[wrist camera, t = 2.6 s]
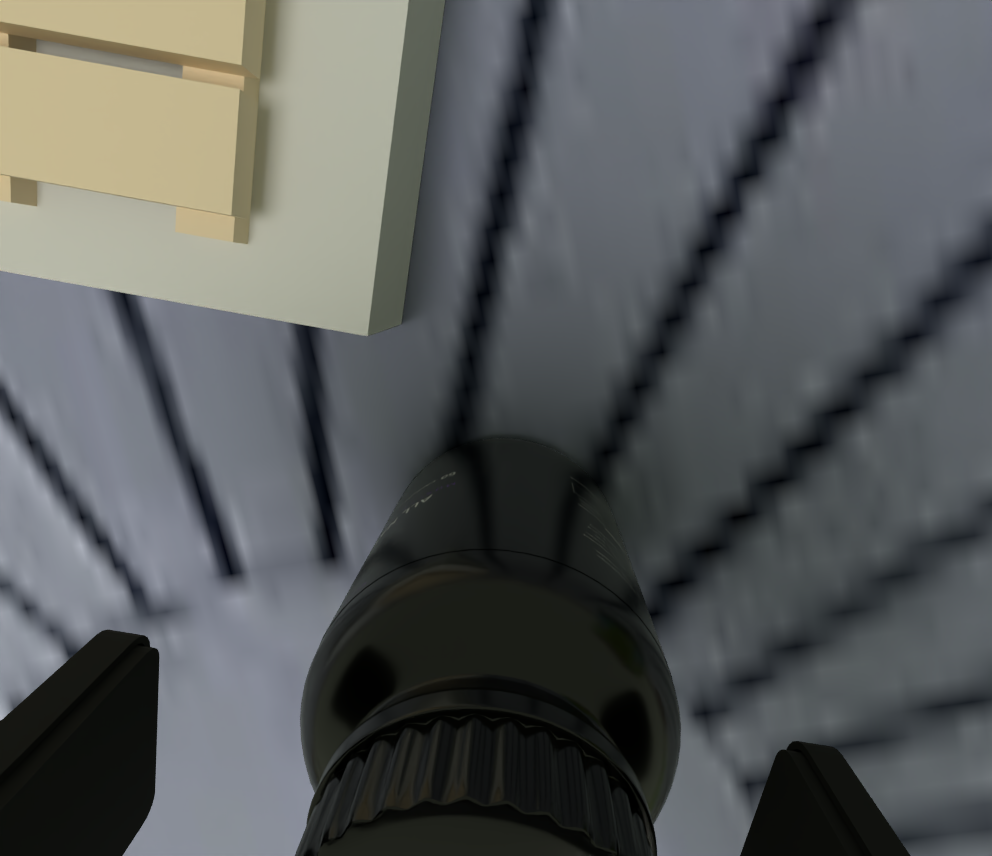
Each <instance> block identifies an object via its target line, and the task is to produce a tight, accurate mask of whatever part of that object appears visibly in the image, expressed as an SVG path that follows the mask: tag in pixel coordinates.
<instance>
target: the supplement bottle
mask: <svg viewBox="0 0 992 856" xmlns="http://www.w3.org/2000/svg"><path fill="white" fill-rule="evenodd" d="M300 727H301V742H302V749H303V755H304V761H305V765H306V768H307V772H308V775H309V779H310V782H311V785H312V787H313V790H314V792H315V794H314V797H313V799H312V802H311V805H310V809H309V813H308V818H307V826H306V829H305V831H304V834H303V836H302V839H301V841H300V844H299V846H298V849H297V851H296V854H295V856H657V845H656V837H655V831H654V826H653V824H654V823H655V821H656V819H657V818H658V816H659V814H660V812H661V810H662V808H663V806H664V804H665V802H666V799H667V797H668V794H669V792H670V789H671V786H672V783H673V780H674V776H675V772H676V769H677V764H678V759H679V752H680V738H681V722H680V712H679V705H678V701H677V696H676V692H675V688H674V684H673V680H672V676H671V673H670V670H669V667H668V664H667V661H666V659H665V656H664V653H663V650H662V647H661V644H660V642H659V639H658V636H657V633H656V631H655V628H654V625H653V622H652V620H651V617H650V614H649V611H648V609H647V606H646V603H645V600H644V598H643V595H642V592H641V589H640V587H639V584H638V581H637V578H636V576H635V573H634V570H633V567H632V565H631V562H630V559H629V556H628V554H627V551H626V548H625V545H624V543H623V540H622V537H621V534H620V532H619V529H618V526H617V523H616V521H615V519H614V516H613V514H612V511H611V509H610V507H609V505H608V502H607V500H606V499H605V497H604V495H603V494H602V492H601V490H600V489H599V487H598V486H597V485H596V483H595V482H594V481H593V479H592V478H591V477H590V476H589V475H588V474H587V473H586V472H585V471H584V470H583V469H582V468H581V467H580V466H579V465H578V464H576V463H575V462H574V461H572V460H571V459H569V458H568V457H566V456H565V455H563V454H561V453H559V452H558V451H556V450H553V449H551V448H549V447H547V446H544V445H541V444H538V443H535V442H530V441H526V440H520V439H511V438H493V439H485V440H479V441H474V442H470V443H467V444H464V445H461V446H458V447H456V448H454V449H452V450H450V451H448V452H446V453H444V454H442V455H441V456H439V457H438V458H436V459H435V460H434V461H432V462H431V463H430V464H428V465H427V466H426V467H425V468H424V469H423V470H422V471H421V472H420V473H419V474H418V475H417V476H416V477H415V478H414V480H413V481H412V482H411V484H410V485H409V486H408V488H407V489H406V491H405V492H404V494H403V496H402V497H401V499H400V500H399V502H398V504H397V505H396V507H395V509H394V511H393V512H392V514H391V516H390V518H389V520H388V521H387V523H386V525H385V527H384V529H383V530H382V532H381V534H380V536H379V538H378V539H377V541H376V543H375V545H374V547H373V548H372V550H371V552H370V554H369V556H368V557H367V559H366V561H365V563H364V565H363V566H362V568H361V570H360V572H359V574H358V575H357V577H356V579H355V581H354V582H353V584H352V586H351V588H350V590H349V591H348V593H347V595H346V597H345V599H344V600H343V602H342V604H341V606H340V608H339V609H338V611H337V613H336V615H335V617H334V618H333V620H332V622H331V624H330V626H329V627H328V629H327V631H326V633H325V635H324V637H323V639H322V641H321V643H320V645H319V648H318V650H317V652H316V654H315V657H314V659H313V661H312V663H311V666H310V668H309V672H308V675H307V678H306V681H305V685H304V691H303V696H302V702H301V714H300Z"/></svg>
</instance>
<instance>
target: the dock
mask: <svg viewBox="0 0 992 856" xmlns="http://www.w3.org/2000/svg"><path fill="white" fill-rule="evenodd" d="M444 6H445V0H0V271H5V272H11V273H16V274H22V275H27V276H33V277H39V278H44V279H50V280H55V281H61V282H67V283H72V284H78V285H83V286H89V287H95V288H100V289H106V290H111V291H117V292H123V293H128V294H134V295H139V296H145V297H150V298H156V299H162V300H167V301H173V302H178V303H184V304H190V305H195V306H201V307H206V308H212V309H218V310H223V311H229V312H234V313H240V314H246V315H251V316H257V317H262V318H268V319H274V320H279V321H285V322H290V323H296V324H302V325H307V326H313V327H318V328H324V329H330V330H335V331H341V332H346V333H352V334H358V335H363V336H370V335H372V334H375V333H378V332H381V331H384V330H387V329H389V328H392V327H395V326H398V325H401V323H402V316H403V308H404V301H405V294H406V286H407V279H408V271H409V264H410V257H411V249H412V242H413V234H414V227H415V220H416V212H417V205H418V198H419V190H420V183H421V175H422V168H423V161H424V153H425V146H426V139H427V131H428V124H429V116H430V109H431V102H432V94H433V87H434V80H435V72H436V65H437V57H438V50H439V43H440V35H441V28H442V21H443V13H444Z"/></svg>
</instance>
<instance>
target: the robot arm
mask: <svg viewBox="0 0 992 856" xmlns="http://www.w3.org/2000/svg"><path fill="white" fill-rule="evenodd" d="M158 682H159V652H158V650H157V649H156V648H151V647H150V642H149V639H148V637H146V636H144V635H138V634H132V633H125V632H119V631H113V630H104V631H101V632H100V633H99V634H97V635H96V636H95V637H94V638H93V639H91V640H90V641H89V642H88V643H87V644H86V645H85V646H84V647H83V648H81V649H80V650H79V651H78V652H77V653H76V654H75V655H74V656H73V657H71V658H70V659H69V660H68V661H67V662H66V663H65V664H64V665H63V666H61V667H60V668H59V669H58V670H57V671H56V672H55V673H54V674H53V675H51V676H50V677H49V678H48V679H47V680H46V681H45V682H44V683H43V684H41V685H40V686H39V687H38V688H37V689H36V690H35V691H34V692H33V693H31V694H30V695H29V696H28V697H27V698H26V699H25V700H24V701H23V702H21V703H20V704H19V705H18V706H17V707H16V708H15V709H14V710H13V711H11V712H10V713H9V714H8V715H7V716H6V717H5V718H4V719H3V720H1V721H0V856H122V855H123V854H124V852H125V851H126V849H127V848H128V846H129V845H130V843H131V842H132V840H133V839H134V837H135V835H136V834H137V832H138V831H139V829H140V828H141V826H142V825H143V823H144V821H145V820H146V818H147V816H148V814H149V812H150V809H151V806H152V803H153V800H154V795H155V776H156V745H157V713H158ZM740 856H910V854H909V853H908V851H907V850H906V848H905V847H904V846H903V844H902V843H901V841H900V840H899V838H898V837H897V835H896V834H895V832H894V831H893V829H892V828H891V826H890V825H889V823H888V822H887V820H886V819H885V817H884V816H883V815H882V813H881V812H880V810H879V809H878V807H877V806H876V804H875V803H874V801H873V800H872V798H871V797H870V795H869V794H868V792H867V791H866V789H865V788H864V787H863V785H862V784H861V782H860V781H859V779H858V778H857V776H856V775H855V773H854V772H853V770H852V769H851V767H850V766H849V764H848V763H847V761H846V760H845V759H844V757H843V756H842V754H841V753H840V752H839V751H838V750H837V749H835V748H833V747H830V746H824V745H818V744H812V743H805V742H799V741H794V742H792V743H791V744H789V746H788V748H787V750H780V751H779V752H778V753H777V755H776V757H775V760H774V763H773V766H772V768H771V771H770V774H769V777H768V780H767V782H766V785H765V788H764V791H763V793H762V796H761V799H760V802H759V805H758V807H757V810H756V813H755V816H754V819H753V821H752V824H751V827H750V830H749V833H748V835H747V838H746V841H745V844H744V847H743V849H742V852H741V855H740Z"/></svg>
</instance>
